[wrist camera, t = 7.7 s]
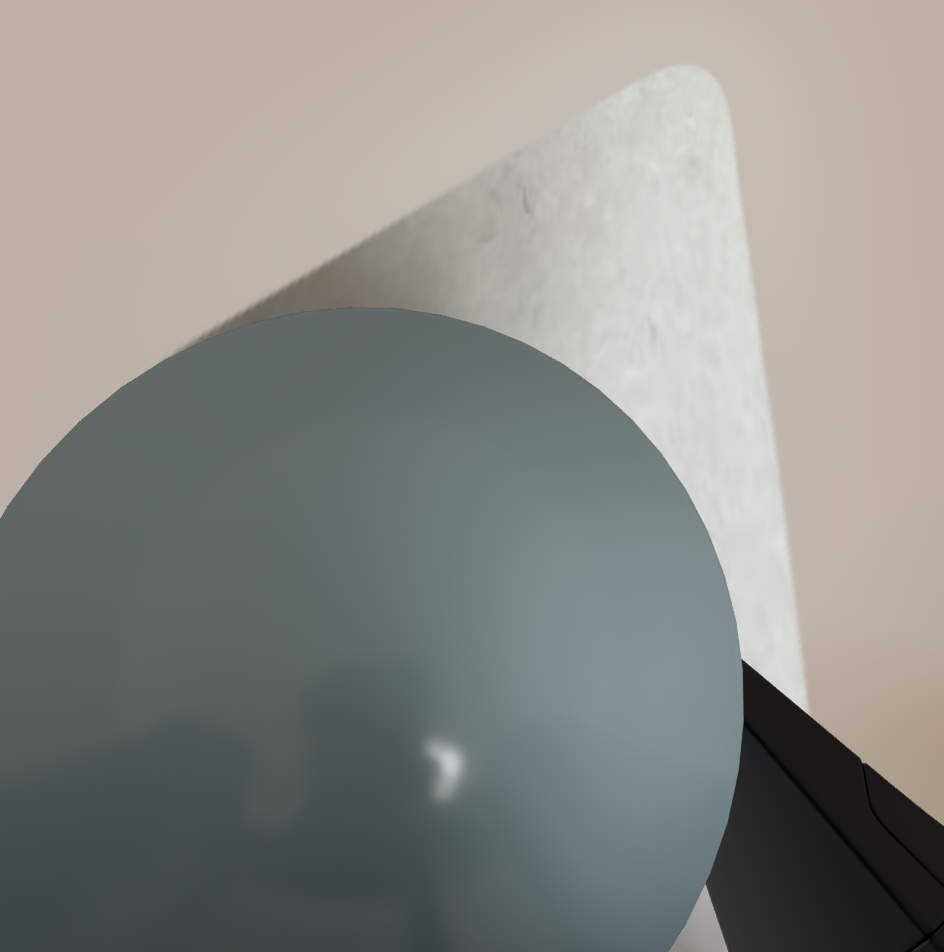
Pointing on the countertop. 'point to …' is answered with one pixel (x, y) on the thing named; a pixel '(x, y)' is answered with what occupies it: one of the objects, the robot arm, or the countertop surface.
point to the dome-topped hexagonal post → (360, 658)
